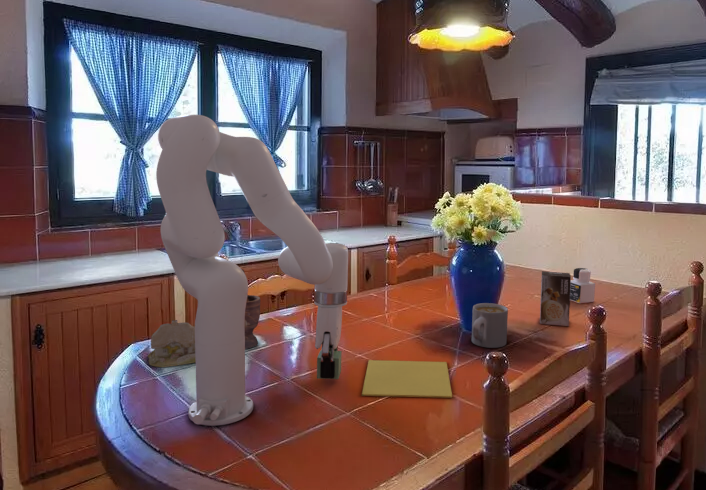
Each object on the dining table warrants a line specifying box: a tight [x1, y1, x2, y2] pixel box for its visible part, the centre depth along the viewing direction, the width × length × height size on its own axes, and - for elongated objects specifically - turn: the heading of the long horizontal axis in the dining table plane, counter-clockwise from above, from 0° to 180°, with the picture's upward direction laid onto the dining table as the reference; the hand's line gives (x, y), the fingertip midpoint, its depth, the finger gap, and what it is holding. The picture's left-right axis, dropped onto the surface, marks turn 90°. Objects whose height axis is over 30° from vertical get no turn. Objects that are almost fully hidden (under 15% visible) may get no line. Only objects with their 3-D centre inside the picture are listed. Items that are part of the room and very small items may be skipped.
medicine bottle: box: [570, 267, 596, 304], centre depth 207 cm, size 7×7×12 cm
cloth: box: [361, 359, 453, 399], centre depth 133 cm, size 20×20×1 cm
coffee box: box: [539, 270, 572, 327], centre depth 179 cm, size 9×6×16 cm
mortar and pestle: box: [241, 268, 261, 350], centre depth 153 cm, size 12×9×20 cm
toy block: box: [316, 349, 343, 380], centre depth 130 cm, size 5×5×5 cm
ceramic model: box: [147, 319, 196, 368], centre depth 141 cm, size 14×11×10 cm
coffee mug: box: [471, 302, 509, 349], centre depth 158 cm, size 13×10×10 cm
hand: (329, 372), depth 130 cm, fingers closed on toy block, 5 cm apart
